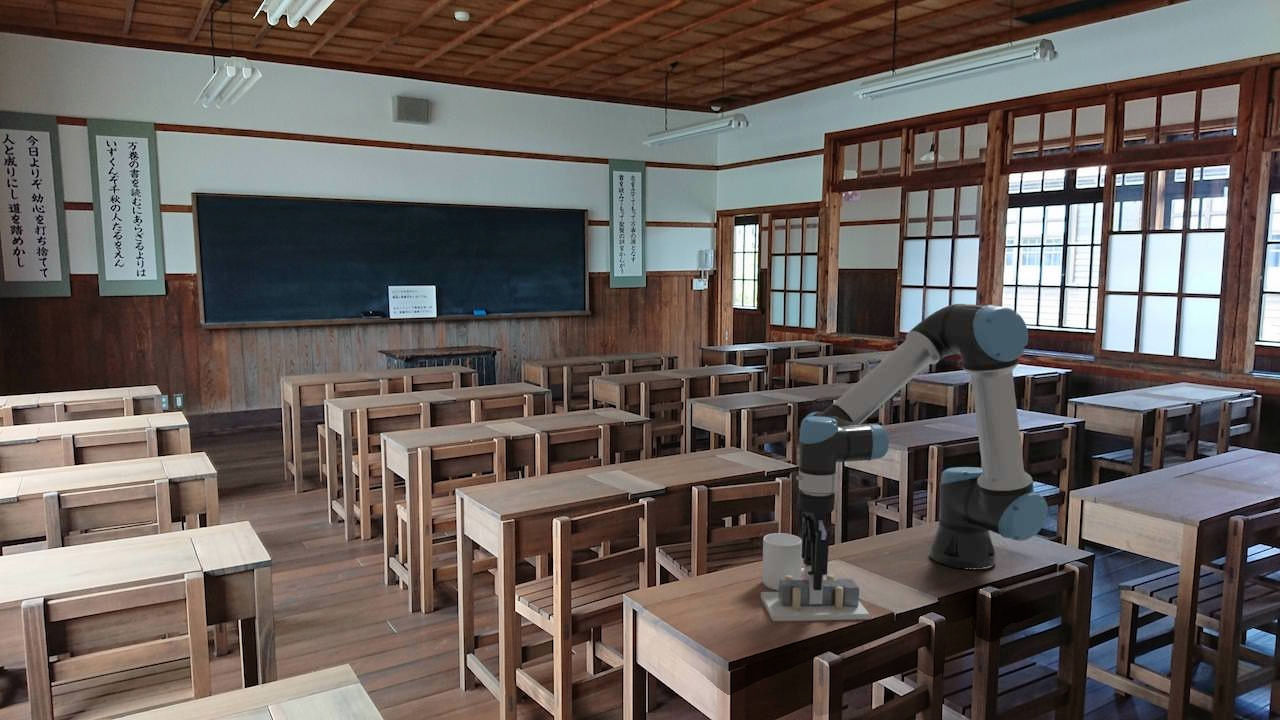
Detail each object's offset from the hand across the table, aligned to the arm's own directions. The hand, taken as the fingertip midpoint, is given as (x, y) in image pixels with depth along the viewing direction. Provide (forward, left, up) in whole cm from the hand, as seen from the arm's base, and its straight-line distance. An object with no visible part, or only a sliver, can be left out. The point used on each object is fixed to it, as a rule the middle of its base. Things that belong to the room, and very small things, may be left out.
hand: (812, 599), depth 169 cm
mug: (+2, -14, -2) cm, 14 cm away
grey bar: (-1, 0, -1) cm, 1 cm away
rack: (0, 0, -2) cm, 2 cm away
